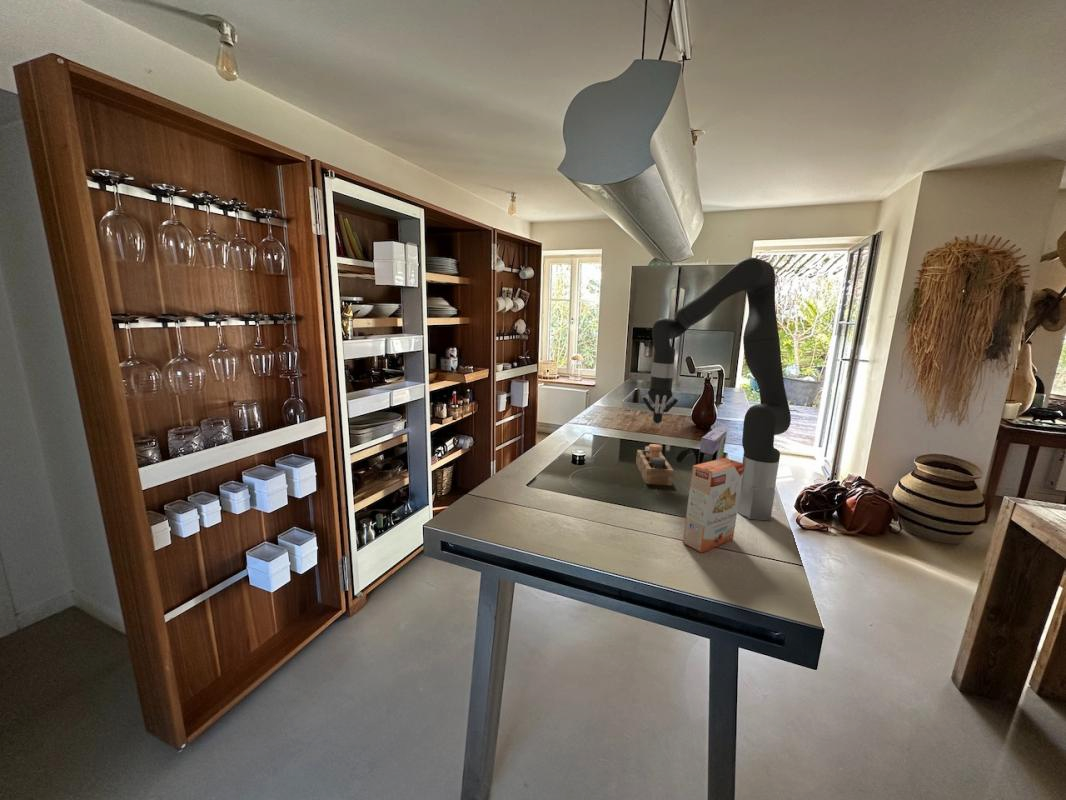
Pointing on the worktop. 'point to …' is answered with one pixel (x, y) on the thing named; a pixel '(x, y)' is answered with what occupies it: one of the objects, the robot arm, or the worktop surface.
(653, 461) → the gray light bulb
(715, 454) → the cake pan box
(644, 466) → the light wood long tray
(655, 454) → the terracotta plug
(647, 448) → the steel plug
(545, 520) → the worktop surface
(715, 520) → the cracker box
